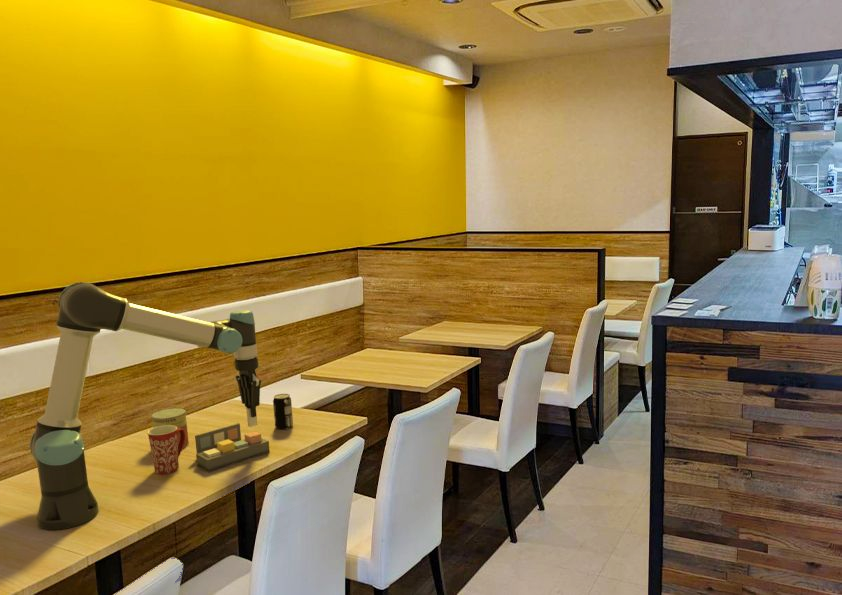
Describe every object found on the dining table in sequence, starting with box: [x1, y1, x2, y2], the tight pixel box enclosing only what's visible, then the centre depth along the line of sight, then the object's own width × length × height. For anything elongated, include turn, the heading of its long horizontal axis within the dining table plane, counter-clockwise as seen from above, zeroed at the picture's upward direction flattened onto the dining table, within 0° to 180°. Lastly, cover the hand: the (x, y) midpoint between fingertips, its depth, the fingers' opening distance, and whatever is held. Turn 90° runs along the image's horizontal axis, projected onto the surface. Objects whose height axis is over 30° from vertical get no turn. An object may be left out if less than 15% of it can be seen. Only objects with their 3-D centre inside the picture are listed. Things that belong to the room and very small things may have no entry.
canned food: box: [151, 407, 190, 450], centre depth 250 cm, size 11×11×12 cm
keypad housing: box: [195, 437, 270, 473], centre depth 235 cm, size 22×8×4 cm, turn 133°
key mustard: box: [217, 439, 235, 453], centre depth 232 cm, size 4×4×4 cm
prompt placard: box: [194, 422, 242, 454], centre depth 242 cm, size 16×1×8 cm, turn 133°
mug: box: [147, 425, 185, 475], centre depth 229 cm, size 13×9×14 cm
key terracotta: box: [244, 430, 263, 445], centre depth 239 cm, size 4×4×4 cm
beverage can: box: [272, 393, 294, 430], centre depth 264 cm, size 7×7×12 cm
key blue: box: [234, 439, 248, 449], centre depth 236 cm, size 4×4×4 cm
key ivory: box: [203, 448, 221, 458], centre depth 229 cm, size 4×4×4 cm
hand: (252, 425), depth 239 cm, fingers closed
